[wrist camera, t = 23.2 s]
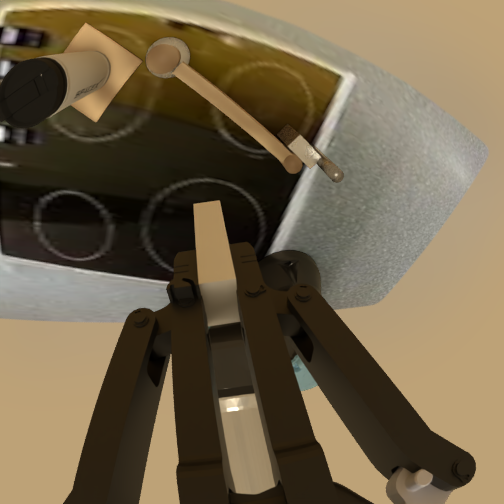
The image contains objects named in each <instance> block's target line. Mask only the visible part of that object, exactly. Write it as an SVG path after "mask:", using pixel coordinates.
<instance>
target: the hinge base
mask: <svg viewBox="0 0 504 504" xmlns="http://www.w3.org/2000/svg"><path fill="white" fill-rule="evenodd" d="M160 44H168V45H171V46H174V47H176V48H177V49H178V50H179V51H180V54H181V59H180V62H179V64H178V65H177V66H176V67H175V68H174V69H173V70H172V71H170V72H168V73H165V74H157V73H154V72H152V71H151V70H150V69H149V68H148V69H149V71H150V72H151V73H152V74H154V75H155V76H158V77H161V78H171V77H174V76H175V75H174V74H172V73H173V72H174V71H175V69H176V68H177V67H178V66H179V65H180V64H181V63H182V62H185V63H186V64H187V65H188V63H189V60H190V52H189V49H188V47H187V45H186V44H185V43H184V42H183V41H181V40H180V39H177V38H173V37H166V38H162V39H159V40H157V41H156V42H154V43H153V44H152V45H151V46H150V48H149V49H148V51H147V54H146V58H147V55H148V53H149V51H150V50H151V49H152V48H153V47H155V46H157V45H160ZM146 65H147V63H146ZM147 67H148V66H147Z"/></svg>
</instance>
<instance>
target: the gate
mask: <svg viewBox="0 0 504 504" xmlns="http://www.w3.org/2000/svg"><path fill="white" fill-rule="evenodd" d="M180 59H181V54H180V51H179V50H178V49H177V48H176V47H174V46H171V45H168V44H160V45H157V46H155V47H153V48H152V49H151V50H150V51H149V53H148V55H147V58H146V63H147V66H148V68H149V69H150V70H151V71H152V72H154V73H157V74H165V73H168V72H170V71H172V70H173V69H174V68H175V67H176V66H177V65H178V64H179V62H180ZM172 74H174V75H175V76H176V77H178V78H179V79H180V80H182V81H183V82H184V83H186V84H187V85H188V86H190V87H191V88H192V89H194V90H195V91H196V92H198V93H199V94H200V95H202V96H203V97H204V98H205V99H207V100H208V101H209V102H210V103H212V104H213V105H214V106H216V107H217V108H218V109H219V110H221V111H222V112H223V113H224V114H226V115H227V116H228V117H229V118H230V119H232V120H233V121H234V122H235V123H237V124H238V125H239V126H240V127H241V128H243V129H244V130H245V131H246V132H247V133H249V134H250V135H251V136H252V137H253V138H254V139H256V140H257V141H258V142H259V143H260V144H261V145H263V146H264V147H265V148H266V149H267V150H268V151H269V152H271V153H272V154H273V155H274V156H275V157H276V158H277V159H279V161H280V162H281V163H282V165H283V166H284V167H285V169H286V170H287V171H288V172H289V173H292V174H294V173H297V172H299V171H300V170H301V168H302V161H301V160H300V159H299V157H298V156H297V155H296V154H295V153H294V152H293V151H292V150H291V149H290V148H289V147H288V146H287V145H286V144H282V143H281V142H280V141H279V140H278V139H277V138H276V137H275V136H273V135H272V134H271V133H270V132H269V131H268V130H267V129H266V128H265V127H263V126H262V125H261V124H260V123H259V122H258V121H257V120H255V119H254V118H253V117H252V116H251V115H250V114H248V113H247V112H246V111H245V110H244V109H243V108H241V107H240V106H239V105H238V104H237V103H235V102H234V101H233V100H232V99H231V98H229V97H228V96H227V95H226V94H225V93H223V92H222V91H221V90H220V89H218V88H217V87H216V86H215V85H213V84H212V83H211V82H210V81H208V80H207V79H206V78H204V77H203V76H202V75H201V74H199V73H198V72H197V71H195V70H194V69H193V68H191V67H190V66H189V65H187V64H186V63H185V62H182V63H181V64H180V65H179V66H178V67H177V68H176V69H175V71H174V72H173V73H172Z"/></svg>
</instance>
